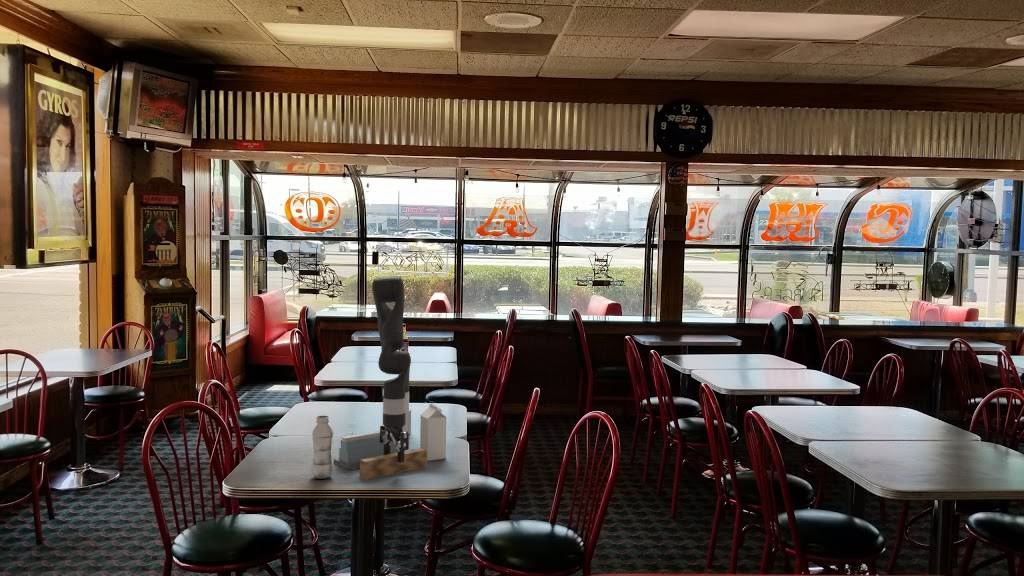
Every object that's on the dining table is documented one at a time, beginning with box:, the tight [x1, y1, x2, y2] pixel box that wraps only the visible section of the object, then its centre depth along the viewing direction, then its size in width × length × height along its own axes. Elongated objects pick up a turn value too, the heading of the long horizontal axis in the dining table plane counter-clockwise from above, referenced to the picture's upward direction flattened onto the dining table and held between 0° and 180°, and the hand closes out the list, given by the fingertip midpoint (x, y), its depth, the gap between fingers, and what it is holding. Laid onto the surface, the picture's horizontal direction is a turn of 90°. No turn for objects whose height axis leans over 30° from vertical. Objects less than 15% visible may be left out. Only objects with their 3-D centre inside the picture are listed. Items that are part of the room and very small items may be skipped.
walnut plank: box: [359, 447, 428, 480], centre depth 260 cm, size 24×3×6 cm, turn 131°
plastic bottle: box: [311, 415, 334, 480], centre depth 251 cm, size 6×7×20 cm
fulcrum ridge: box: [333, 430, 398, 471], centre depth 272 cm, size 22×10×10 cm, turn 131°
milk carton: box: [419, 402, 447, 462], centre depth 277 cm, size 7×7×19 cm
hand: (393, 459), depth 260 cm, fingers open, 8 cm apart
